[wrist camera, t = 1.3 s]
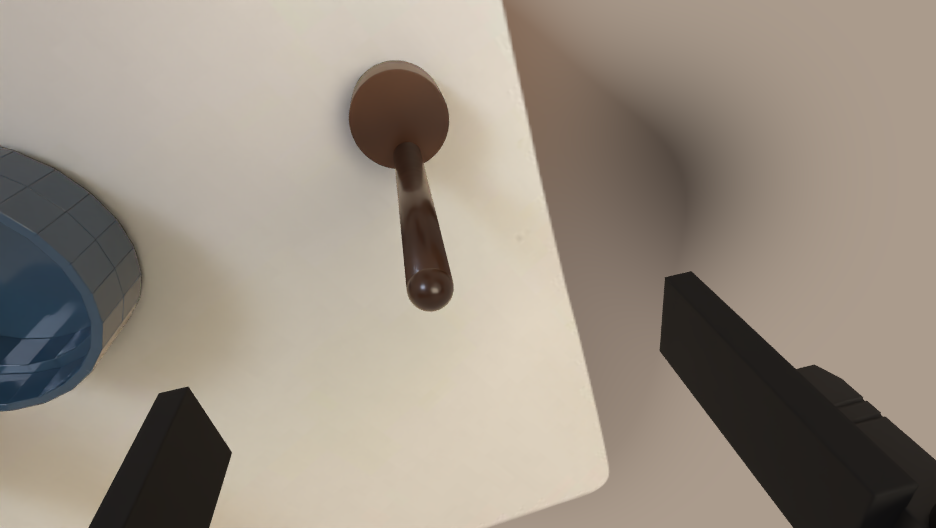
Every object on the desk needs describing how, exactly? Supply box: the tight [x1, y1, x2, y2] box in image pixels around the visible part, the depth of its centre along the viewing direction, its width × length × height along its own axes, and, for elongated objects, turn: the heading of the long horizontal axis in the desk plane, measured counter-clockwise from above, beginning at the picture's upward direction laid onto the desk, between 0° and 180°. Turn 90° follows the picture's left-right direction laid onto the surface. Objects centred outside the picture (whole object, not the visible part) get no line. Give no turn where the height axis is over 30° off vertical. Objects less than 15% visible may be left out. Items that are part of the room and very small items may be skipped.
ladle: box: [349, 61, 454, 312], centre depth 22 cm, size 6×6×18 cm
